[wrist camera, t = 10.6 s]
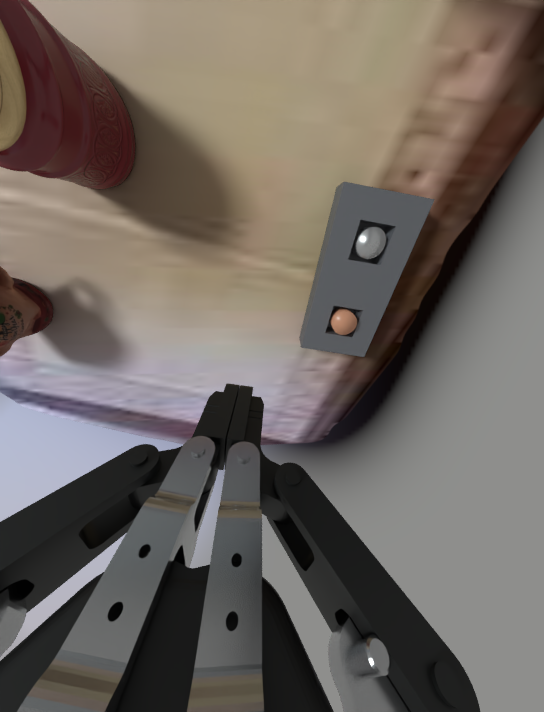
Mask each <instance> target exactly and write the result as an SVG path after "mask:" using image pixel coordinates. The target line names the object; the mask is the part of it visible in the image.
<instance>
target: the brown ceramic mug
mask: <svg viewBox="0 0 544 712" xmlns="http://www.w3.org/2000/svg"><path fill="white" fill-rule="evenodd" d="M52 317H53V308H52V305H51V302H50V301H49V299H48V298H47V297H46V296H45V295H44V294H43V293H41V292H40V291H39V290H38V289H36V288H35V287H33V286H32V285H30V284H28V283H26V282H24V281H21V280H19V279H16V278H12V277H10V276H9V275H8V273H7V272H6V271H5V270H4V269H3V268H1V267H0V356H2V355H4V354H5V353H6V352H7V351H8V350H9V349H10V348H11V346H12V344H13V343H14V342H15V341H16V340H17V339H19V338H22V337H25V336H29V335H32V334H35V333H37V332H39V331H41V330H43V329H44V328H46V327H47V326H48V325H49V323H50V322H51V320H52Z"/></svg>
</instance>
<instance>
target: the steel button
mask: <svg viewBox="0 0 544 712" xmlns="http://www.w3.org/2000/svg"><path fill="white" fill-rule="evenodd" d="M385 243H386V235H385V233H384V231H383V230H382V229H380V228H378V227H365V228H362V229H360V230H358V231H357V233H356V236H355V239H354V242H353V246H352V249H351V250H352V252H353V254H354V255H356V256H358V257H361V258H365V259H371V258H374V257H376V256H378V255H379V254H380V253H381V252H382V250H383V249H384V246H385Z"/></svg>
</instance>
